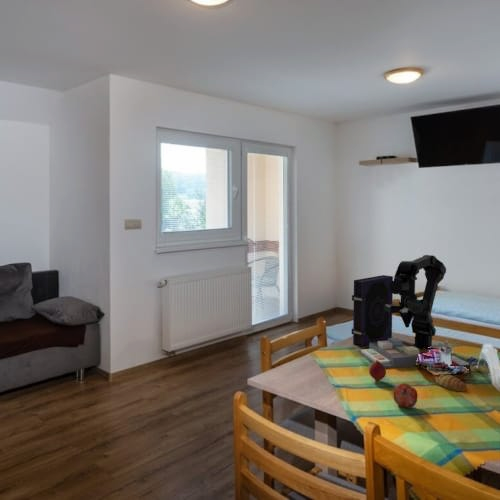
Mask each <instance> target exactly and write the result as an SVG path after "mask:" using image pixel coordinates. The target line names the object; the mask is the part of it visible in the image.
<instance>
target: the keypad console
mask: <svg viewBox="0 0 500 500" xmlns="http://www.w3.org/2000/svg"><path fill="white" fill-rule="evenodd" d="M401 346H405V347H409V346H408V345H406V344H405V343H403V342H402V345H401ZM401 346H392V349H381V348H379V347H378V342H373V343H369V345H368V347H369V348H367V349H365V348H364V349H358V350H357V353H358V352H359V353H360V354H361V355H360V354H359V353H358V354H359V355H360V356H362V355H363V356H364V357H365V359H366V358H367V359H368V360H367V359H366V360H367V361H369V362H370V361H371V362H372V363H371V362H370V363H371V364H373V363H375V362H376V360H378V361H379V362H380V363H381V364H382V365H383V366H384V367H385V368H386V369H394V368H395V369H396V367H398V368H407V367H406V366H410V367H416V366H415V365H416V360H417V357H418V355H407V354H405V353H404V352H403V350H402V351H400V350H398V349H397V348H395V347H401ZM385 350H396V351H398V352H400V353H398V354H389V353H387V352H386V351H385ZM363 356H362V357H363ZM364 357H363V358H364Z"/></svg>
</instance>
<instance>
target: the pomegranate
mask: <svg viewBox="0 0 500 500" xmlns="http://www.w3.org/2000/svg"><path fill="white" fill-rule="evenodd" d="M392 393H393V394H392V396H393V400H394V401H395V403H396V404H397V405H398V406H399V407H403V408H408V409H410V408H412V407H414V406H415V405H416V403H417V402H418V396H419V395H418V391H417V390H416V389H415V387H412V386H411V385H410V384H408V383H400V384H398V385H397V386H396V387H394V390H393V391H392Z"/></svg>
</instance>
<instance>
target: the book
mask: <svg viewBox="0 0 500 500" xmlns="http://www.w3.org/2000/svg"><path fill="white" fill-rule="evenodd" d="M392 281H394V276H392V275H386V274H385V275H384V274H382V275H376V276H370V277H365V278H359V279H354V280H353V294H352V295H351V301H353V312H352V315H353V316H352V317H353V318H352V320H353V322H352V323H353V326H352V328H351V335H353V336H352V344H353V346H355V345H360V347H362V348H363V347H367V346H369V343H373V342H378V341H386V340H388V338H393V313H389V312H387V311H385V310H384V306H385V305H386V304H393V299H394V297H393V295H394V294H393V293H392V292H391V291H390V289H389V285H390V283H391V282H392Z"/></svg>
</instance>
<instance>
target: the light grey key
mask: <svg viewBox="0 0 500 500" xmlns="http://www.w3.org/2000/svg"><path fill="white" fill-rule="evenodd" d="M378 347H379V348H381V349H392V343H391V342H389V341H388V340H382V341H378Z"/></svg>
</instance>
